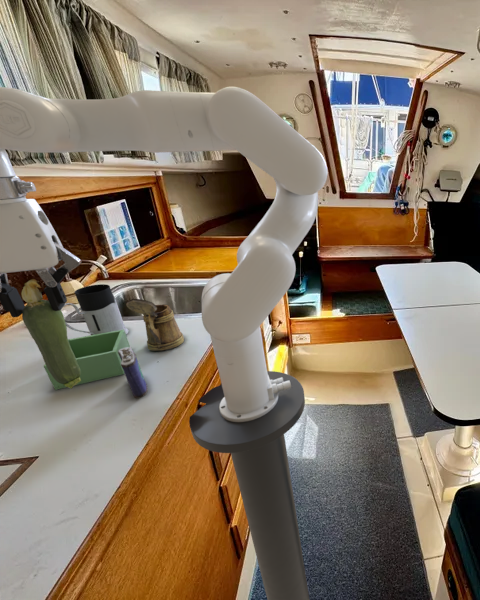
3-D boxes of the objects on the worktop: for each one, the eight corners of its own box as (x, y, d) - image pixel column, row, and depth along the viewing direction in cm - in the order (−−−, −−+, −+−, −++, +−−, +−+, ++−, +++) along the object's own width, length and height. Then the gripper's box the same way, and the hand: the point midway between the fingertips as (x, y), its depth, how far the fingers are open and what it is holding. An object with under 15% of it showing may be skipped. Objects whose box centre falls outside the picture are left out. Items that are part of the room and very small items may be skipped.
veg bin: (131, 349, 90) (124, 329, 87) (124, 374, 80) (115, 351, 78) (71, 362, 84) (61, 340, 81) (55, 390, 74) (43, 366, 72)
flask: (128, 380, 78) (114, 342, 74) (143, 375, 80) (130, 338, 76) (134, 400, 72) (118, 360, 68) (150, 394, 74) (136, 355, 70)
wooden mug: (133, 362, 85) (111, 300, 77) (155, 337, 97) (138, 281, 89) (171, 358, 87) (153, 297, 80) (189, 334, 99) (174, 279, 92)
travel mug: (135, 329, 100) (120, 284, 94) (89, 354, 88) (68, 304, 81) (111, 326, 101) (94, 282, 95) (61, 351, 89) (38, 301, 82)
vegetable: (51, 388, 56) (-4, 281, 48) (80, 374, 60) (33, 272, 52) (69, 393, 55) (15, 285, 47) (97, 378, 59) (52, 276, 51)
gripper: (71, 187, 51) (111, 293, 59) (-96, 190, 43) (-26, 312, 51) (56, 192, 45) (103, 308, 53) (-140, 196, 37) (-53, 333, 45)
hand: (39, 309), depth 52 cm, fingers closed on vegetable, 4 cm apart
